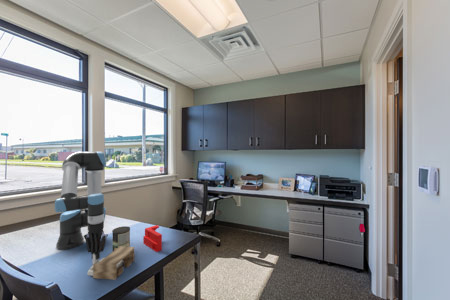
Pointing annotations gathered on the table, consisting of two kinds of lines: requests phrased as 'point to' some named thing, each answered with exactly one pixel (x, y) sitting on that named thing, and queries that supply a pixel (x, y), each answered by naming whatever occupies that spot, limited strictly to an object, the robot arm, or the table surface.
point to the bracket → (153, 238)
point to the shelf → (113, 263)
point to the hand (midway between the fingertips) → (95, 264)
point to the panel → (98, 263)
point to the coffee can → (121, 237)
